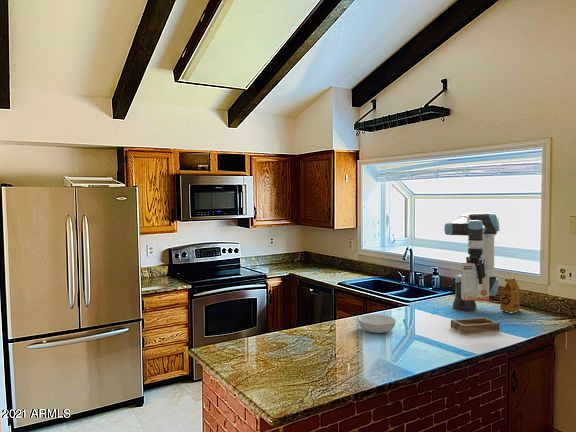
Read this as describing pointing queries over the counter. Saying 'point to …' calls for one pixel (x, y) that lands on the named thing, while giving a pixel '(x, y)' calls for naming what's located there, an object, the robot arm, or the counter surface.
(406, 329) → the counter surface
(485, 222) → the robot arm
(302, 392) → the counter surface
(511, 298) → the coffee package
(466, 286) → the cracker box
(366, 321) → the serving bowl
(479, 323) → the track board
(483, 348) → the counter surface
